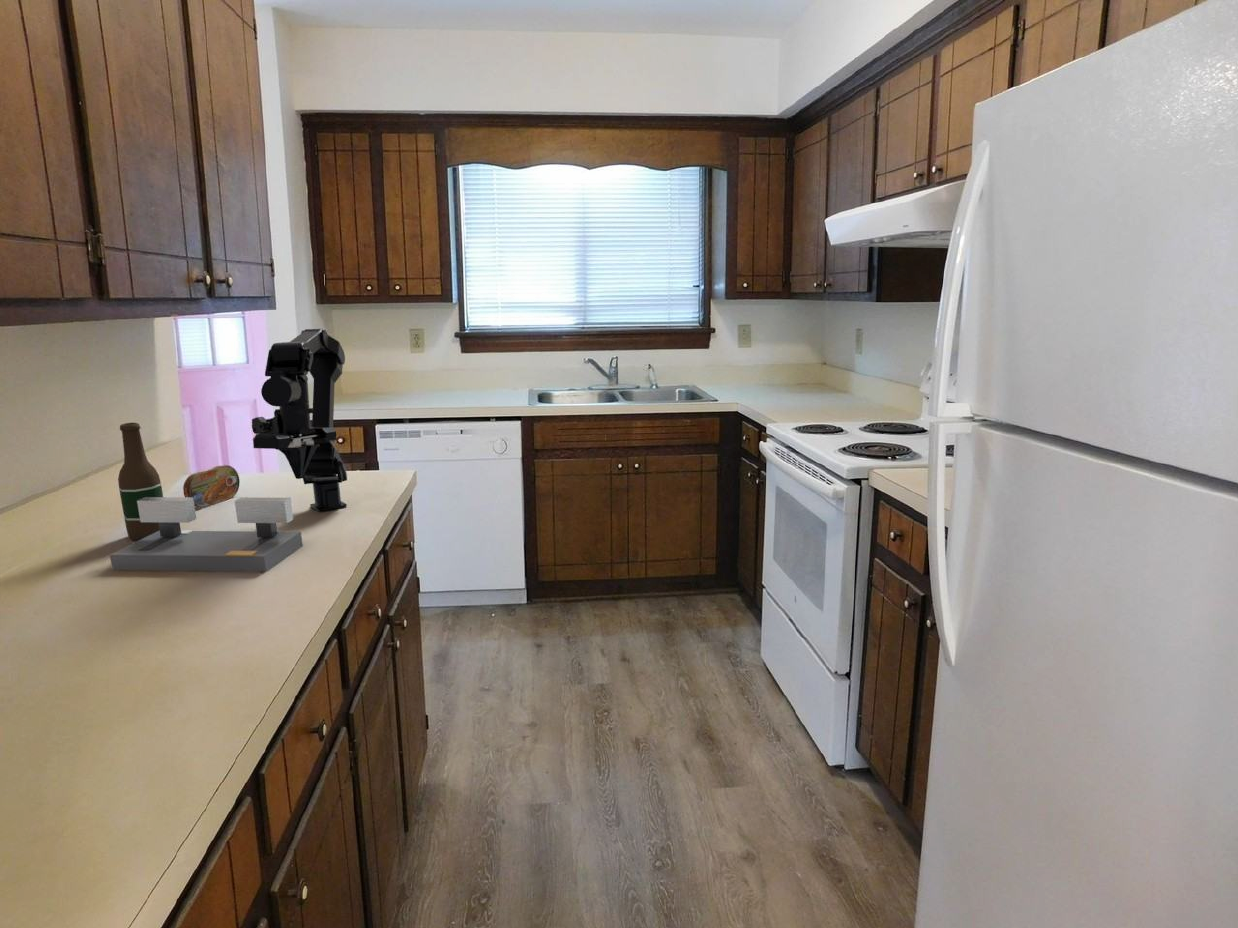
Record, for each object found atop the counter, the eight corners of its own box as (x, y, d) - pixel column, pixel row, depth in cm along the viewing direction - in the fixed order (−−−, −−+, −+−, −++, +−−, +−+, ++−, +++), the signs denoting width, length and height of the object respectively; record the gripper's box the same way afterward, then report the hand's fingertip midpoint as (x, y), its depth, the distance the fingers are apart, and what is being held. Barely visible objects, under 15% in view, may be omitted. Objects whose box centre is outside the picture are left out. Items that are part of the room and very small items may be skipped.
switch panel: (161, 544, 161) (158, 529, 160) (302, 545, 158) (300, 530, 157) (112, 569, 147) (109, 553, 147) (266, 571, 145) (263, 555, 144)
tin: (194, 511, 184) (188, 476, 182) (183, 510, 185) (178, 476, 183) (242, 494, 198) (238, 461, 196) (232, 493, 199) (227, 461, 197)
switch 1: (151, 532, 158) (145, 497, 156) (198, 533, 157) (193, 497, 155) (143, 536, 156) (136, 500, 154) (191, 537, 155) (185, 500, 153)
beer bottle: (119, 538, 166) (98, 425, 160) (155, 527, 172) (136, 419, 167) (141, 543, 162) (121, 428, 156) (177, 532, 169) (159, 421, 163)
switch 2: (246, 533, 156) (241, 497, 154) (295, 533, 155) (290, 497, 153) (239, 537, 154) (234, 500, 152) (289, 537, 153) (284, 501, 151)
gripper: (293, 401, 175) (298, 471, 177) (228, 406, 157) (234, 484, 159) (335, 401, 172) (340, 472, 174) (273, 406, 154) (279, 485, 156)
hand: (299, 478), depth 166 cm, fingers closed
